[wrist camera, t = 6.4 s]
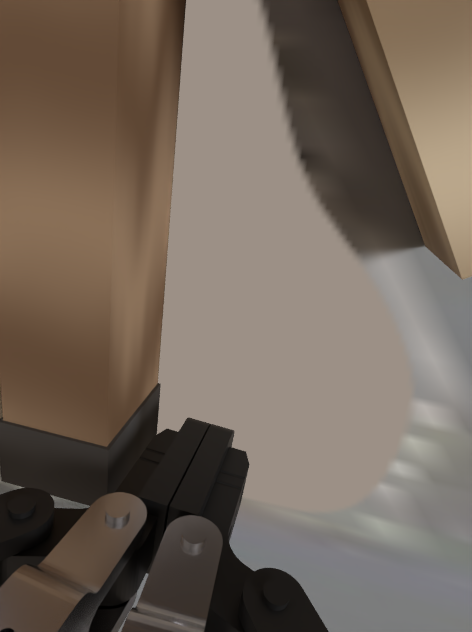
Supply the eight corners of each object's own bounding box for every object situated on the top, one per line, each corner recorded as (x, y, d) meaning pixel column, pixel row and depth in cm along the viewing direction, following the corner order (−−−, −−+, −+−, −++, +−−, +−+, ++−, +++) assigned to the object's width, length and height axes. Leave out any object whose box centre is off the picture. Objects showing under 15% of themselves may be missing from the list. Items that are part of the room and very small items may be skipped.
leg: (66, -553, 8) (-325, -1611, 3) (233, -574, 8) (62, -1848, 3) (72, 413, 16) (-44, 524, 11) (156, 433, 15) (74, 560, 10)
